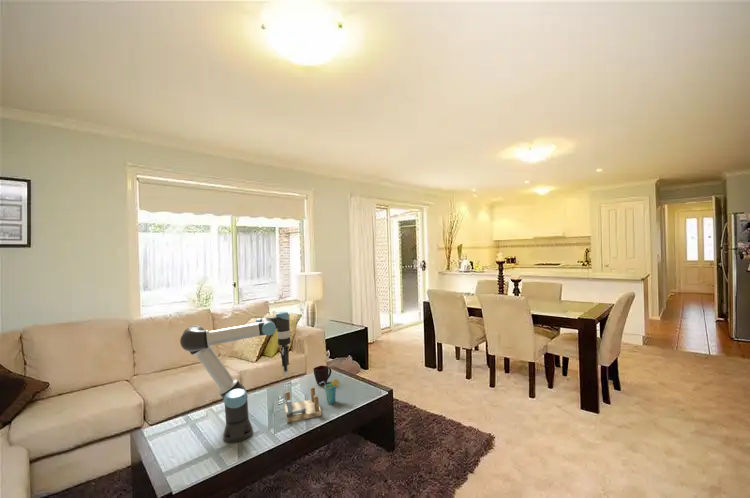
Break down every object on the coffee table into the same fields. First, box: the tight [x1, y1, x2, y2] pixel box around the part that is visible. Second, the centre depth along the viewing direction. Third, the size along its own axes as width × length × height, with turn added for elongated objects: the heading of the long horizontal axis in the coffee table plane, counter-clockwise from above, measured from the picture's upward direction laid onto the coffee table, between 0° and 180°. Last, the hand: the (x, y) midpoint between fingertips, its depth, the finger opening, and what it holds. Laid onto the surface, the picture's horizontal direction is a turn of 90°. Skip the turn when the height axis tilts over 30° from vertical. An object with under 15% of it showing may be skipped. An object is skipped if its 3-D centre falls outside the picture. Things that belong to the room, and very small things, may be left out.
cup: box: [319, 378, 340, 405], centre depth 231 cm, size 14×8×15 cm, turn 128°
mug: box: [312, 365, 332, 386], centre depth 267 cm, size 10×14×12 cm
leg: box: [287, 399, 306, 414], centre depth 211 cm, size 10×2×8 cm, turn 106°
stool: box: [284, 386, 322, 423], centre depth 220 cm, size 20×20×11 cm
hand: (286, 376), depth 219 cm, fingers closed
